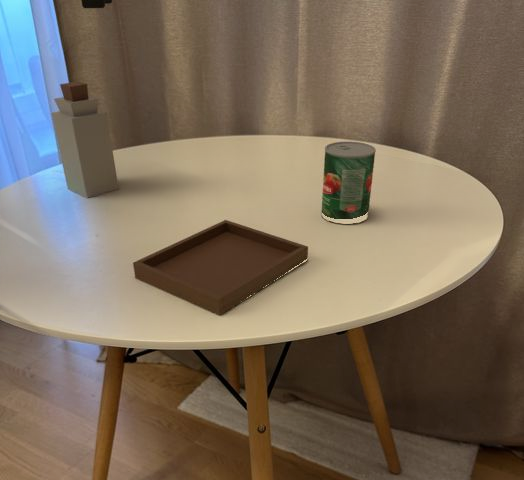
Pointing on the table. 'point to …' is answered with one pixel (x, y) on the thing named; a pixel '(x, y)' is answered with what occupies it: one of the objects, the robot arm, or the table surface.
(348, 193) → the canned tomato
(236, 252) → the tray
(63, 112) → the perfume bottle
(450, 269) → the table surface
